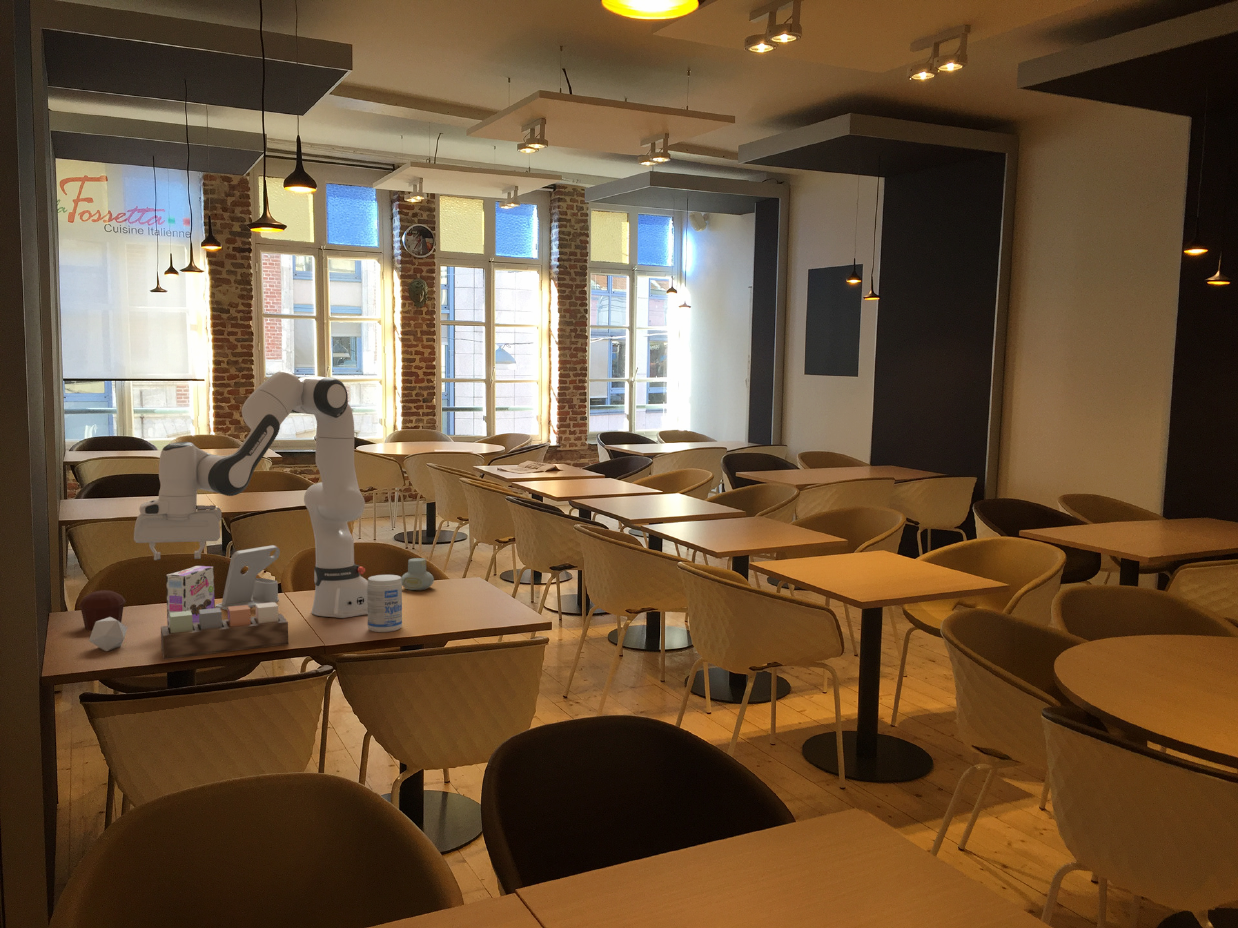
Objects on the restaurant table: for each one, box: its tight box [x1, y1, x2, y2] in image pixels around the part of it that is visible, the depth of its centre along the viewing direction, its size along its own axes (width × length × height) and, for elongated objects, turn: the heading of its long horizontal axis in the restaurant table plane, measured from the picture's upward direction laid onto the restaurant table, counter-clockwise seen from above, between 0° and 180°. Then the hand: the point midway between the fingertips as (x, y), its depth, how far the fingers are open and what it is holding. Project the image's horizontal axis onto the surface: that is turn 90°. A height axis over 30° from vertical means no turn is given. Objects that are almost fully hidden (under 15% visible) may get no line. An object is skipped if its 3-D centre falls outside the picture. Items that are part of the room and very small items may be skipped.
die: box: [88, 617, 128, 652], centre depth 250 cm, size 8×9×10 cm
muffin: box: [78, 589, 127, 631], centre depth 271 cm, size 12×11×10 cm
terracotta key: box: [227, 605, 251, 627], centre depth 254 cm, size 5×5×5 cm
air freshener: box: [400, 557, 435, 591], centre depth 322 cm, size 11×8×10 cm
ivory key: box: [255, 602, 279, 624], centre depth 257 cm, size 5×5×5 cm
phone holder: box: [215, 544, 281, 611], centre depth 299 cm, size 17×10×18 cm, turn 146°
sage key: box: [169, 611, 193, 633], centre depth 247 cm, size 5×5×5 cm
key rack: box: [160, 613, 289, 660], centre depth 252 cm, size 30×10×6 cm, turn 119°
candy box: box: [165, 565, 216, 626], centre depth 271 cm, size 14×6×16 cm, turn 168°
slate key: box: [199, 607, 223, 630], centre depth 250 cm, size 5×5×5 cm
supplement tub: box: [367, 574, 403, 633], centre depth 271 cm, size 10×10×15 cm
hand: (177, 558), depth 247 cm, fingers open, 8 cm apart
